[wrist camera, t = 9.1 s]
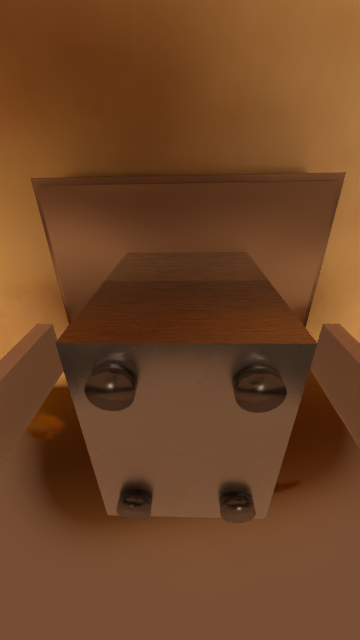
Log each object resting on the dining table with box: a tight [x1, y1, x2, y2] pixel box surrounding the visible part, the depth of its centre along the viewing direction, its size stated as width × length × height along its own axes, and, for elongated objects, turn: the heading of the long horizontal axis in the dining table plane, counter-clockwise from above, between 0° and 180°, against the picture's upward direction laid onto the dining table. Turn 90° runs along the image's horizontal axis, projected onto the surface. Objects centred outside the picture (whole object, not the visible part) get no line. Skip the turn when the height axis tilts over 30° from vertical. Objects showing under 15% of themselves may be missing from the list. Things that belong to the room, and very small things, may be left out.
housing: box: [55, 252, 317, 523], centre depth 11 cm, size 8×6×8 cm
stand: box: [31, 172, 346, 327], centre depth 17 cm, size 15×14×4 cm
